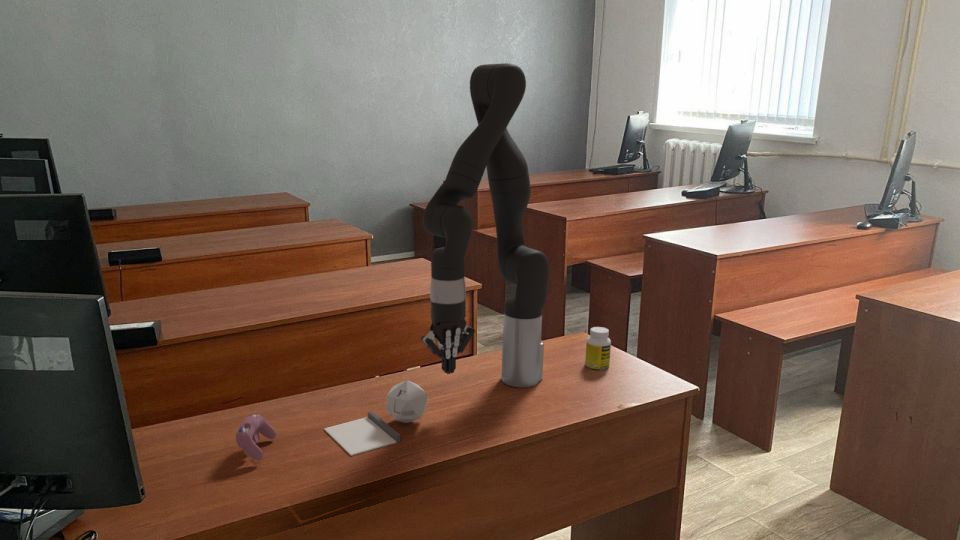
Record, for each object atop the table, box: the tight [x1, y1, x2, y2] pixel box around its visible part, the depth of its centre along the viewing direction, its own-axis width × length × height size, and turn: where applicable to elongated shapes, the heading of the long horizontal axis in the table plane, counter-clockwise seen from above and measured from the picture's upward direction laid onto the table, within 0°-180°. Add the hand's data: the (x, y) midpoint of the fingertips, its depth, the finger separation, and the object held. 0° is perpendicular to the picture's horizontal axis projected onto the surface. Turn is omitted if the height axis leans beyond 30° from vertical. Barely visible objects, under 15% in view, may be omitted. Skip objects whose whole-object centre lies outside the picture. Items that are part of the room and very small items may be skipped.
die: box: [385, 379, 428, 424], centre depth 153 cm, size 8×9×10 cm
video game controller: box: [235, 413, 277, 461], centre depth 141 cm, size 10×5×7 cm, turn 178°
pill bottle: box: [584, 326, 612, 371], centre depth 184 cm, size 6×6×11 cm
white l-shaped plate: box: [323, 410, 401, 457], centre depth 148 cm, size 11×13×2 cm
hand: (448, 372), depth 158 cm, fingers closed
